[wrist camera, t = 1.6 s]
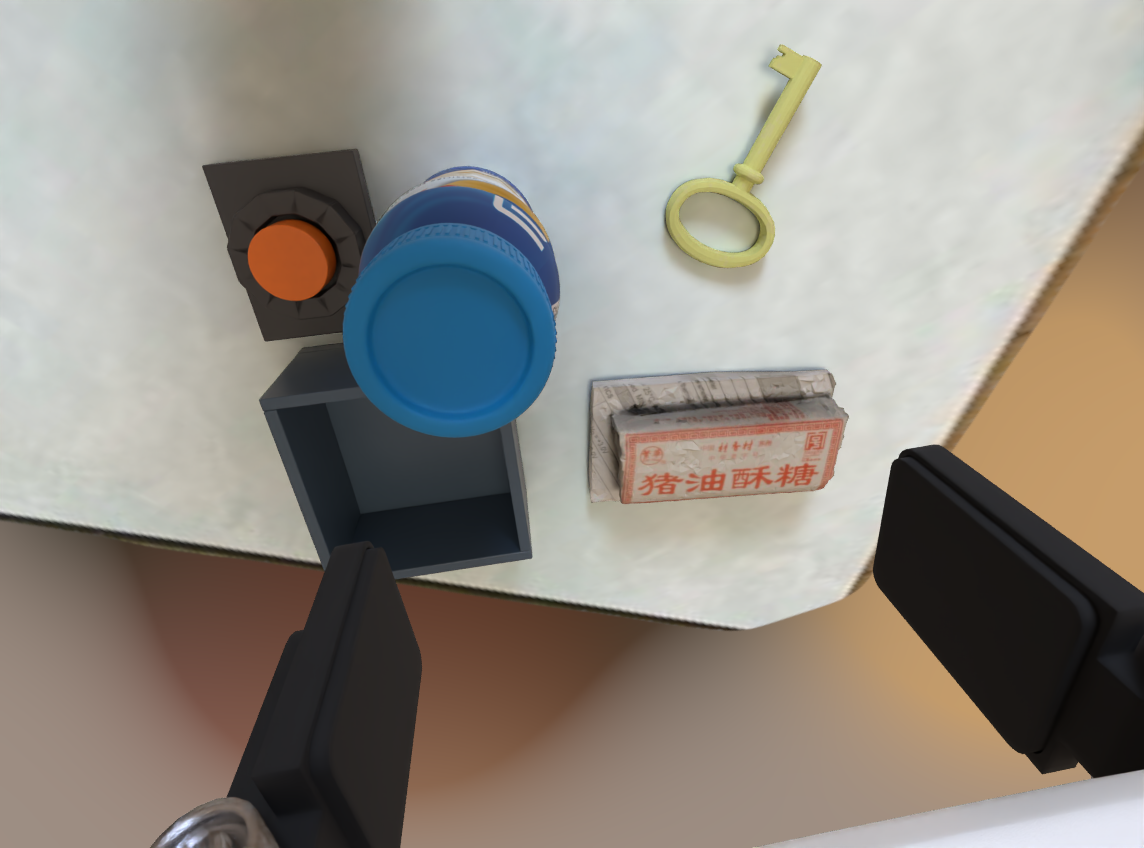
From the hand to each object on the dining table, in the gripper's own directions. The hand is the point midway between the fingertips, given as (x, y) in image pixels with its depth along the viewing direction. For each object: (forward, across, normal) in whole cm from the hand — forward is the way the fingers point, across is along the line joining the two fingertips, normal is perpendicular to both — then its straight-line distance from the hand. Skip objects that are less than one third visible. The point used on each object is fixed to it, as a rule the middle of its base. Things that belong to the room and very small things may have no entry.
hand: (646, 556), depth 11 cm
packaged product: (+29, -11, +15) cm, 35 cm away
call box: (+29, +13, -2) cm, 32 cm away
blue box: (+29, +10, +11) cm, 33 cm away
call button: (+27, +13, -2) cm, 30 cm away
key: (+30, -13, -3) cm, 32 cm away
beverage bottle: (+30, +4, -1) cm, 30 cm away
